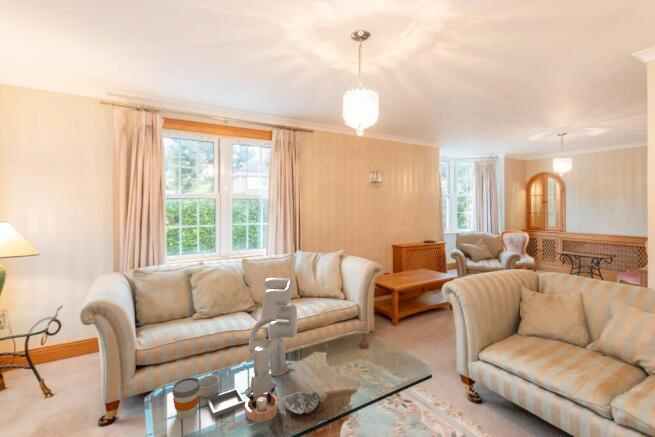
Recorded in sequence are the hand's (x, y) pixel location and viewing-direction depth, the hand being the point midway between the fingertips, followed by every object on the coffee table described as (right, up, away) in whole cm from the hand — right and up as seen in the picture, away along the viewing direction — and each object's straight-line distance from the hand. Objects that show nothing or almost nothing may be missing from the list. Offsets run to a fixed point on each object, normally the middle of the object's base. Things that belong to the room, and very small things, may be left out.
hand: (261, 404), depth 162 cm
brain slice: (+20, -4, +4) cm, 21 cm away
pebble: (0, -3, 0) cm, 3 cm away
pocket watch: (-8, -2, +15) cm, 18 cm away
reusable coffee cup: (-37, -4, -2) cm, 37 cm away
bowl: (0, -4, 0) cm, 4 cm away
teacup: (-32, -2, +14) cm, 35 cm away
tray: (-19, -3, +4) cm, 20 cm away
